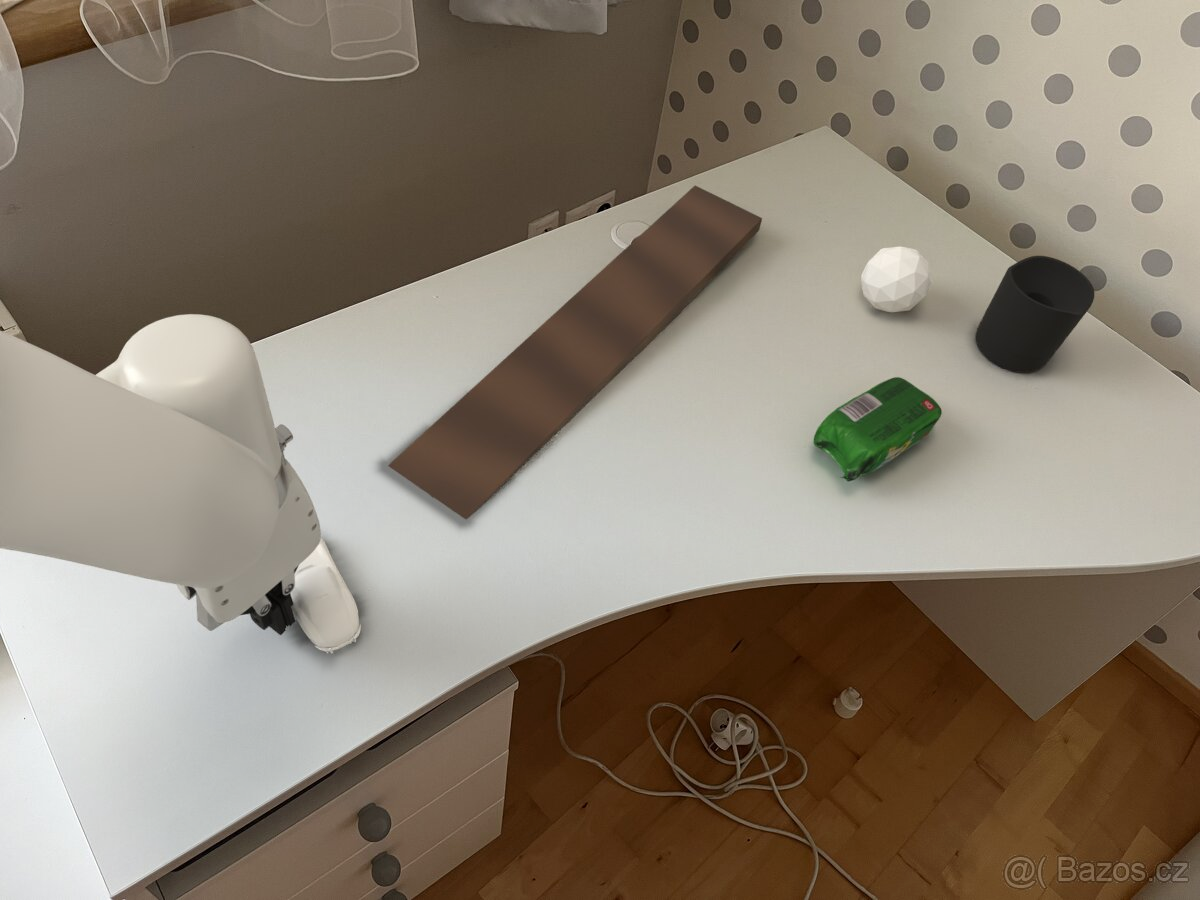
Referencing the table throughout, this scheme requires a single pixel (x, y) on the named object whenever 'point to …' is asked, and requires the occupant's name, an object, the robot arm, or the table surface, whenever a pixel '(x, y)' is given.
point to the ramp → (575, 353)
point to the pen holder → (1033, 313)
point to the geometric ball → (896, 279)
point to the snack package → (877, 426)
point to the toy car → (324, 602)
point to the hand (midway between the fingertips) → (275, 618)
